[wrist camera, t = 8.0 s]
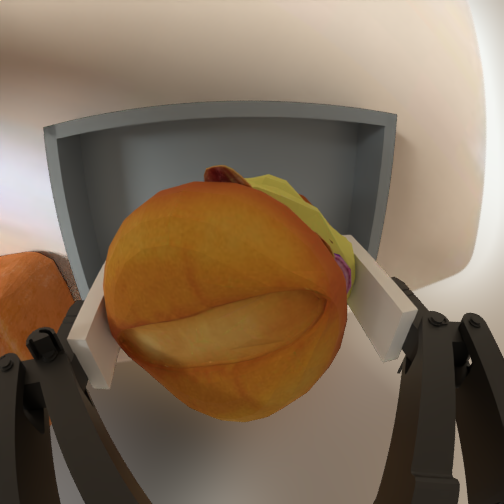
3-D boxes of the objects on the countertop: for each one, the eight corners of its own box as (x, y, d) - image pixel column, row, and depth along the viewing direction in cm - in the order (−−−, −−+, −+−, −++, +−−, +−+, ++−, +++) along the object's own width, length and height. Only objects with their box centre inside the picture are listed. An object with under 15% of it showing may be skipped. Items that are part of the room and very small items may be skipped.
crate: (104, 289, 26) (90, 322, 22) (72, 120, 19) (43, 127, 14) (344, 272, 29) (365, 301, 25) (364, 109, 22) (397, 114, 17)
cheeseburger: (269, 351, 20) (262, 479, 11) (134, 267, 18) (44, 366, 9) (370, 238, 17) (453, 342, 7) (216, 127, 15) (131, 112, 6)
